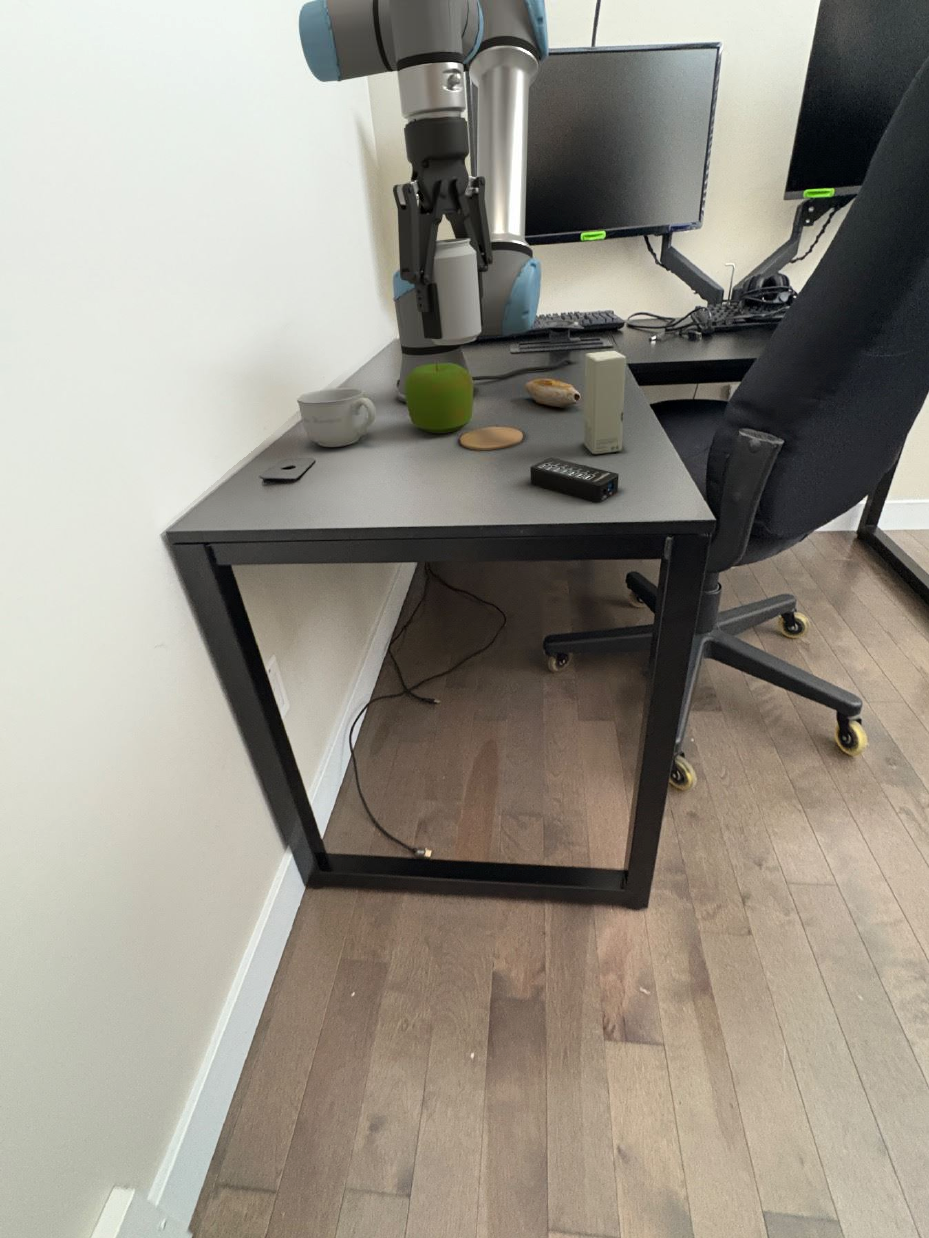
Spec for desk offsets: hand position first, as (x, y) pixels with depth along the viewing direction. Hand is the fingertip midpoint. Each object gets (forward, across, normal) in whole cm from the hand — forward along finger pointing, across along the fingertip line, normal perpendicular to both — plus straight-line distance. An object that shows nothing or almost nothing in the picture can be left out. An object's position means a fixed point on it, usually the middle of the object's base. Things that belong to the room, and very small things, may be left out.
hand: (454, 331), depth 83 cm
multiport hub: (+17, -3, -23) cm, 28 cm away
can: (+1, 0, 0) cm, 1 cm away
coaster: (+17, +6, 0) cm, 18 cm away
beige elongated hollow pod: (+17, +26, +3) cm, 31 cm away
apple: (+17, +5, +10) cm, 21 cm away
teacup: (+17, -8, +20) cm, 27 cm away
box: (+17, +11, -18) cm, 27 cm away
